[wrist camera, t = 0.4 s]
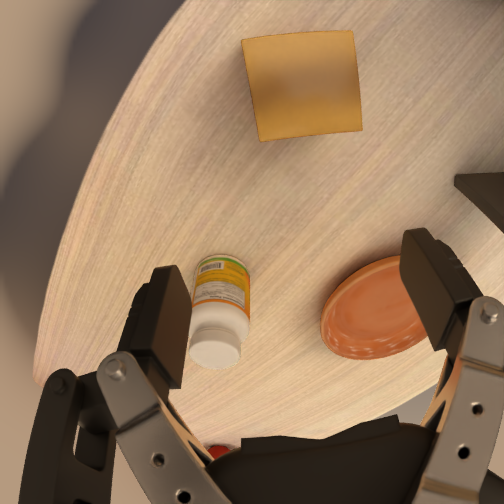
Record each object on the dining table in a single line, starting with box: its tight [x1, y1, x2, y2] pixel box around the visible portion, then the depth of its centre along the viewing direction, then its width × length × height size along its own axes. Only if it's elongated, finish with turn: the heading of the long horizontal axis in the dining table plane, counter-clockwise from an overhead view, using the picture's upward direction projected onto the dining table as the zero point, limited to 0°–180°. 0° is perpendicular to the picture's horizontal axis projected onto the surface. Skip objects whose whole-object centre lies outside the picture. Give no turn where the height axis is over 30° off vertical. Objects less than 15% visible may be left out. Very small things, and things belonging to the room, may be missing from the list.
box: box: [241, 30, 363, 142], centre depth 18 cm, size 6×6×5 cm
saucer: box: [320, 255, 428, 360], centre depth 32 cm, size 16×16×3 cm
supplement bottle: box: [188, 255, 250, 370], centre depth 27 cm, size 5×5×10 cm
